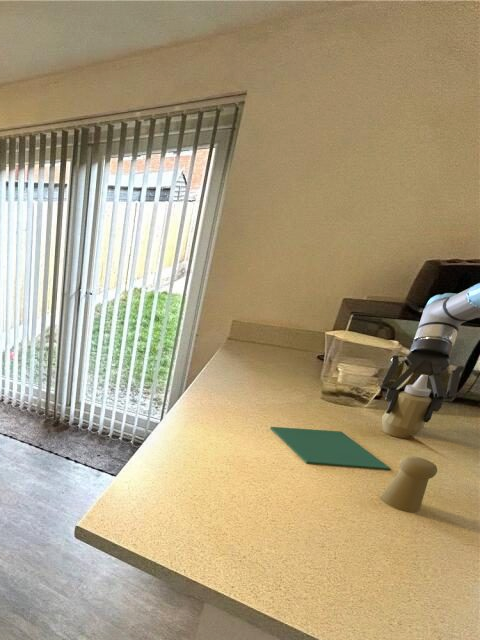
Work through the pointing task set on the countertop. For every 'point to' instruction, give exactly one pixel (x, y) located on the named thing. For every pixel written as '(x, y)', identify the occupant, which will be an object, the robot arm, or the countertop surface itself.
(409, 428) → the squeeze bottle
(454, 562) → the countertop surface
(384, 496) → the cork
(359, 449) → the mat
